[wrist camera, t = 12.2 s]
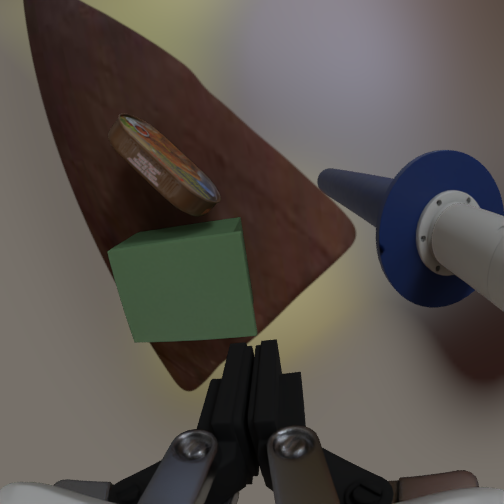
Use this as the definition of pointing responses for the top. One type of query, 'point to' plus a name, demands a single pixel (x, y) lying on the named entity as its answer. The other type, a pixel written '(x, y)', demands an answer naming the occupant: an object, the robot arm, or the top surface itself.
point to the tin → (163, 165)
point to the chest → (186, 234)
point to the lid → (185, 288)
